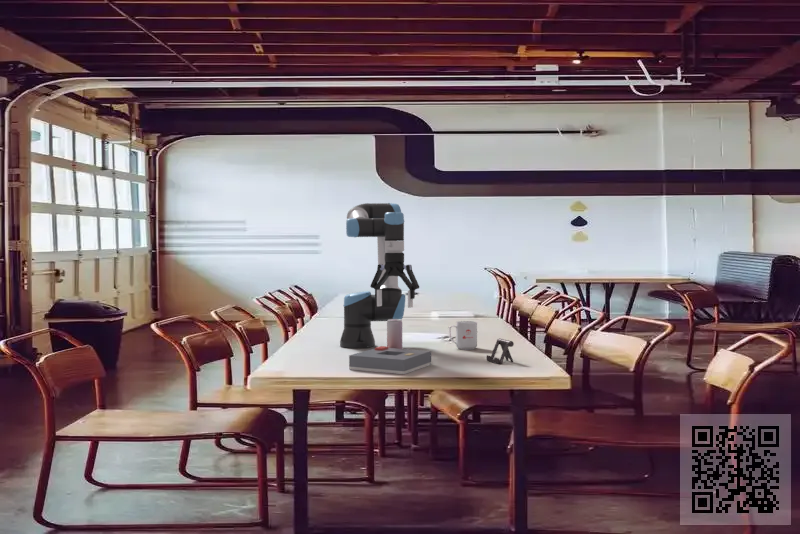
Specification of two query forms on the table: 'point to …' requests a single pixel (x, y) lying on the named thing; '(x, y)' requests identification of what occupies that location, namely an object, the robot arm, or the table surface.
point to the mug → (465, 335)
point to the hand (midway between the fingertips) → (394, 306)
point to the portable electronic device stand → (505, 353)
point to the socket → (390, 360)
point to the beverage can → (394, 333)
